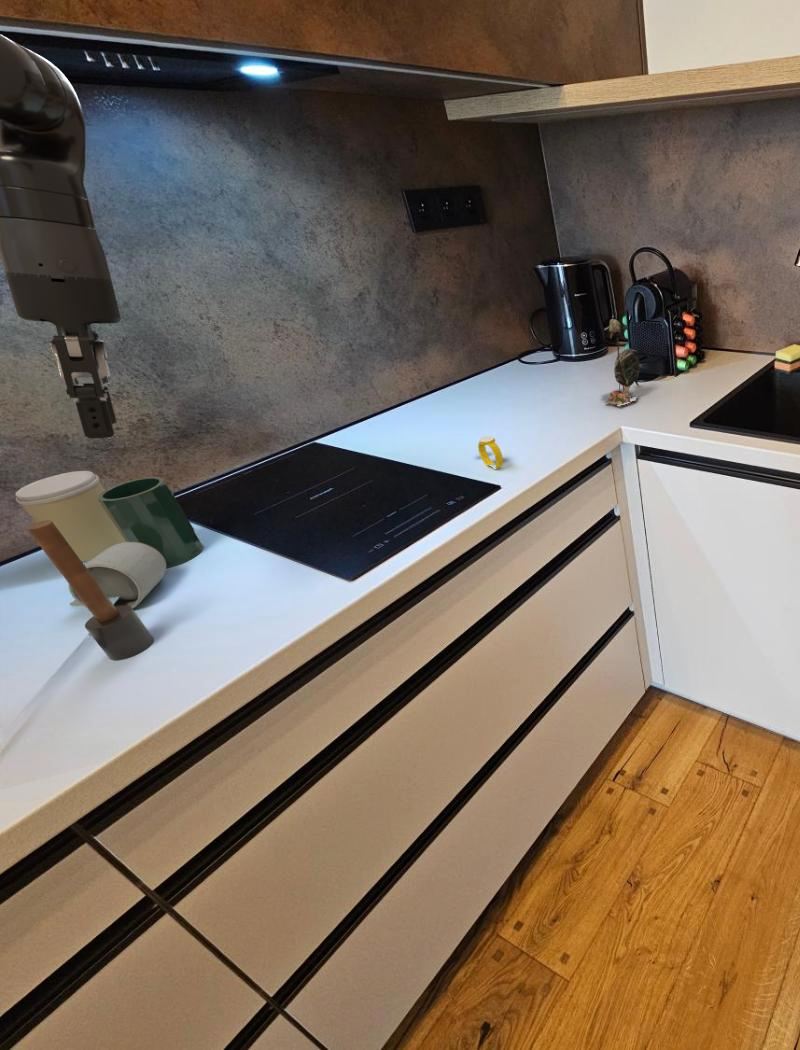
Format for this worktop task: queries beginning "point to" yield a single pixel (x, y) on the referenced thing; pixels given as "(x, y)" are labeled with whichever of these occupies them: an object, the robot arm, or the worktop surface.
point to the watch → (491, 443)
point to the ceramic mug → (125, 572)
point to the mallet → (94, 598)
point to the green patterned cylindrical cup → (152, 518)
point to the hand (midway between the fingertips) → (102, 430)
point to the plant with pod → (623, 368)
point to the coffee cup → (73, 511)
